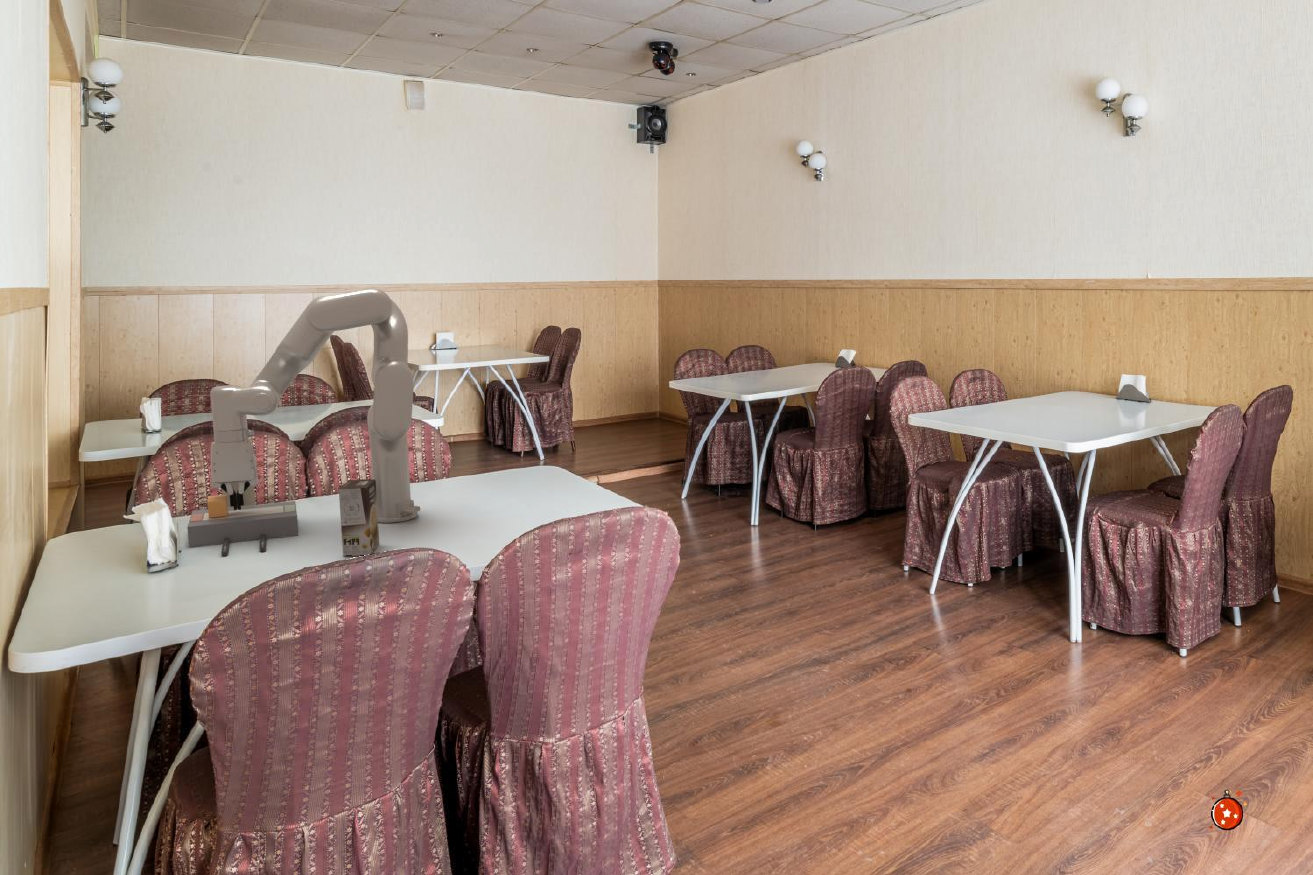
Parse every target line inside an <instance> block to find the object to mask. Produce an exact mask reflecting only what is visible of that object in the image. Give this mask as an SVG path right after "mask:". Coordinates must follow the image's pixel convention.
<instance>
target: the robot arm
mask: <svg viewBox="0 0 1313 875" xmlns="http://www.w3.org/2000/svg"><path fill="white" fill-rule="evenodd" d="M367 326H371V328H372V332H373V333H372V334H373V353H372V354H373V356H372V368H371V373H370V374H371V375H370V376H371V377H370V378H371V382H372V384H373V400H372V402H373V403H372V404H371V405H370V407H369V408H368V412H367V416H366V417H367V420H366V422H367V429H368V430H367V431H368V439H369V440H368V441H369V450H370V452H369V454H370V464H371V465H370V469H371V479H376V496H377V512H378V523H384V524H385V523H386V524H387V523H390V524H391V523H399V522H405V521H409V520H411V519H414V518H417V517H418V514H419V512H420V511H421V506H418V505H415V502H414V501H415V500H414V499H411V498H412V497H411V496H412V495H411V481H410V462H409V461H410V460H409V459H410V458H409V444H408V442H409V440H408V432H409V431H410V428H411V425H412V419H413V418H412V417H413V416H412V415H413V406H414V405H413V403H414V401H413V400H414V388H415V387H414V386H415V385H414V377H413V376H414V375H413V372H412V370H411V368H410V367H409V366H408V363H409V362H408V360H409V359H408V357H409V332H408V330H409V329H408V323H407V321H406V318H405V316H404V314H403V313H402V310H401V309H400V307H399V306H398V305H397V303H396V302H395V301H394V300H393V299H391V297H390V296H389V294H388V293H387V292H385V291H384V290H382V289H378V288H374V287H367V288H364V289H362V290H358V291H354V292H348V293H342V294H337V295H330V296H329V295H328V296H324V295H323V296H317V297H315V298H314V299H312V300H311V301H310V303H308V305H307V306H306V307H305V309H304V310H303V311H302V313H301V314H300V316H298V318H297V319H296V321H295V322H294V324H293V325H292V326H291V328H290V329H289V331H288V332H287V333H286V334H285V336H284V337H283V338H282V340H281V342H280V343H279V344H278V346H277V347H276V348H275V351H274V353H273V354H272V356H271V357H270V358H269V360H267V362H266V364H265V365H264V367H263V368H262V369H261V370H260V372H259V373H258V375H256V377H255V379H254V380H253V381H252V383H251V384H250V385H249V386H246V387H242V386H240V385H235V384H234V385H233V384H230V385H229V384H228V385H225V384H224V385H219V386H218V385H217V386H215V387H212V388H211V389H210V393H209V395H210V406H211V416H212V427H213V439H214V441H212V442H211V443H210V445H211V446H210V474H211V475H210V476H211V477H210V478H211V482H210V483H211V484H210V487H211V488H214V489H221V490H222V489H223V490H224V491H225V492H227V493H228V494H229V495H230V506H231V507H234V510H237V508H238V510H241V506H244V499H243V493H244V491H245V490H246V489H247V488H248V487H249V486H252V485H254V486H255V485H258V484H260V483H259V482H260V480H259V477H258V464H257V458H256V450H255V446H254V442H253V439H250V437H252V436H255V430H254V429H253V430H252V429H249V428H248V419H247V416H248V415H249V416H260V417H261V416H262V417H263V416H267V415H271V414H272V413H274V412H276V410H277V409H278V407H279V404H280V399H281V397H282V396H283V395H284V393H285V392H286V391H287V389H288V388H289V386H290V385H291V384H292V382H293V381H294V379H296V377H298V375H299V374H300V373H301V372H302V371H304V370H305V369H307V368H308V367H309V366H310V365H311V364H312V362H313V361H314V359H315V358H316V357H317V355H319V353H320V351H321V350H322V349H323V347H324V346H325V345H326V343H327V342H328V340H329V339H330V337H331V336H332V335H333V334H334V332H337V331H338V332H339V331H345V330H351V329H357V328H360V327H367ZM245 481H246V482H245ZM232 482H239V489H238V490H237V495H236V493H235V490H233V486H232ZM236 496H237V497H236Z"/></svg>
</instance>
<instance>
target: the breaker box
mask: <svg viewBox="0 0 1313 875" xmlns="http://www.w3.org/2000/svg"><path fill="white" fill-rule="evenodd" d="M297 512H298V511H297V504H296V500H293V501H292V500H291V501H281V502H270V503H261V504H256V505H248V506H241V510H238V508H237V510H234V507H228V514H227V516H222V517H212V518H209V514H208V508H206V509H197V510H192V512H191V515H190V517H189V520H188V523H187V526H186V528H187V529H186V530H187V539H188V546H189V548H195V546H196V547H203V545H205V546H211V545H212V546H214V545H221V544H222V546H221V552H220V554H221V555H222V557H223V556H224V557H226V556H227V555H228V554H229V547H230V543H240V542H241V543H242V542H250V541H257V540H258V541H259V551H260V552H265V551H266V549H267V540H268V539H278V538H284V537H285V538H286V537H295V536H299V525H298V523H299V522H298V513H297ZM213 544H214V545H213Z"/></svg>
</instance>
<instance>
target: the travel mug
mask: <svg viewBox="0 0 1313 875" xmlns="http://www.w3.org/2000/svg"><path fill="white" fill-rule="evenodd" d="M245 482H246V481H245ZM232 486H233V490H235V493H236V495H237V490H238V489H239V482H232ZM255 492H256V491H255V485H252V486H249V487H248V488H247V489H246V490H245V491H244V493H243V499H244V506H248V505H257V504H256V493H255ZM221 495H227V503H228V507H231V506H230V495H229V494H228V493H227V492H225V491H224V490H223V489H221ZM236 497H237V496H236Z"/></svg>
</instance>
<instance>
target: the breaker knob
mask: <svg viewBox="0 0 1313 875" xmlns="http://www.w3.org/2000/svg"><path fill="white" fill-rule="evenodd" d="M206 502H207V509H208V514H209V518H212V517H222V516H227V514H228V503H227V495H222V494H219V495H218V494H217V495H210V496H208V498H207V501H206Z"/></svg>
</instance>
